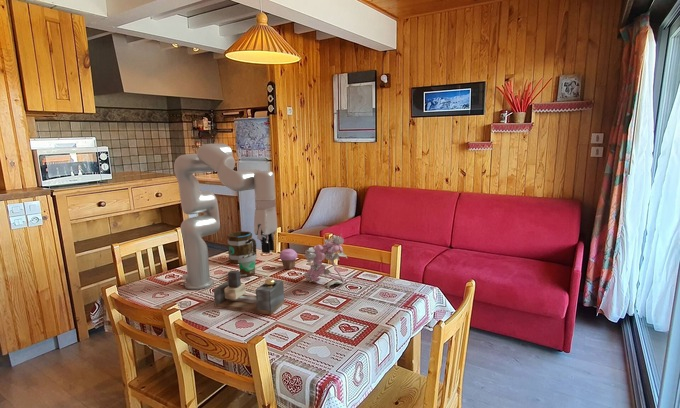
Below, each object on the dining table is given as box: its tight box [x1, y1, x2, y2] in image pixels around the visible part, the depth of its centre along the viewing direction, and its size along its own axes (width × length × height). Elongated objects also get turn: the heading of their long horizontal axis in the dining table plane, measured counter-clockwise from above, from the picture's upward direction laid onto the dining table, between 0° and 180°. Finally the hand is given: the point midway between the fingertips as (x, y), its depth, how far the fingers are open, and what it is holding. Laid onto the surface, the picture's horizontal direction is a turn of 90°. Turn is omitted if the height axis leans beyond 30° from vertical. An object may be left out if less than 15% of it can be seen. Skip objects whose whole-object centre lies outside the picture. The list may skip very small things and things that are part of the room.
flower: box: [302, 233, 348, 290], centre depth 174 cm, size 20×22×25 cm
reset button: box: [264, 278, 275, 287], centre depth 149 cm, size 4×4×6 cm
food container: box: [238, 252, 257, 279], centre depth 188 cm, size 12×6×10 cm, turn 168°
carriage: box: [224, 269, 246, 300], centre depth 154 cm, size 5×7×10 cm
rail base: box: [213, 279, 285, 316], centre depth 153 cm, size 25×11×10 cm, turn 72°
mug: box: [226, 230, 257, 265], centre depth 208 cm, size 20×14×15 cm
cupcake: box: [279, 248, 298, 270], centre depth 196 cm, size 9×9×10 cm
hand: (268, 251), depth 147 cm, fingers open, 2 cm apart
